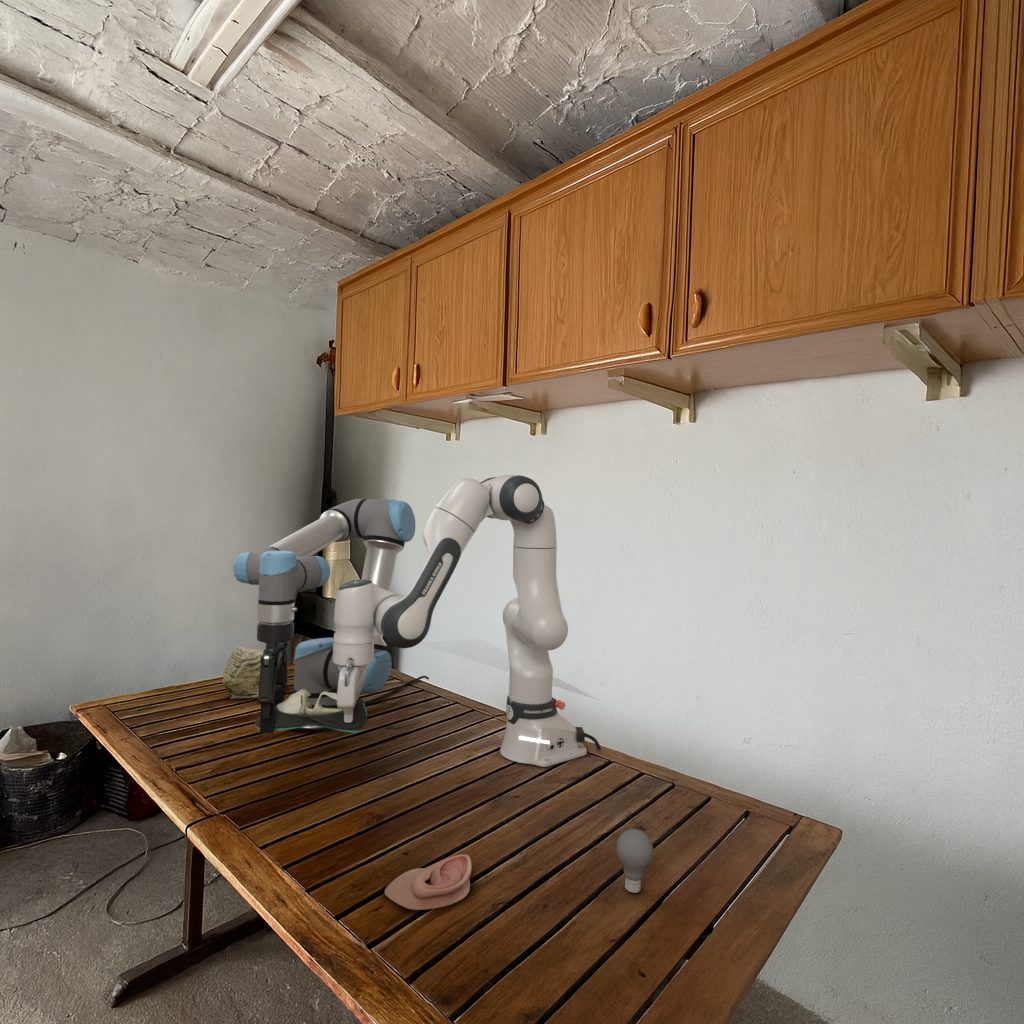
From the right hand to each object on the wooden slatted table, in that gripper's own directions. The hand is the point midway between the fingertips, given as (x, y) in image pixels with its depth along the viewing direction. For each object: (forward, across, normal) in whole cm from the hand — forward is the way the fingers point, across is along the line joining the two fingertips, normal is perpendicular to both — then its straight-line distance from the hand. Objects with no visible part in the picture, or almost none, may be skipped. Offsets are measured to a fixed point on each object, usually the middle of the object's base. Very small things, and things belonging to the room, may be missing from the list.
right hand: (351, 715), depth 140 cm
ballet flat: (+3, +1, +8) cm, 9 cm away
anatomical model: (+15, -40, -18) cm, 46 cm away
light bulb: (+15, -41, -52) cm, 68 cm away
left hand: (+2, 0, +17) cm, 17 cm away
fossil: (+15, +62, +37) cm, 74 cm away
